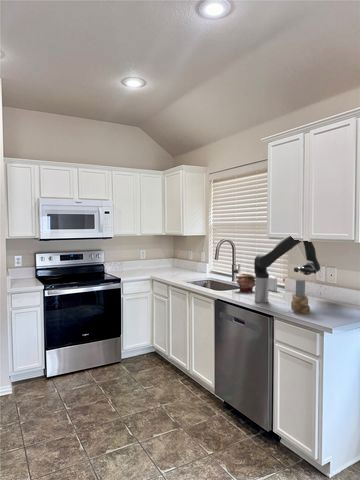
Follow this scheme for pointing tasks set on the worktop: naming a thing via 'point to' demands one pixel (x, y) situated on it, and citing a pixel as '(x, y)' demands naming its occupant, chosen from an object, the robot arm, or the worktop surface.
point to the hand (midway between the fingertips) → (303, 271)
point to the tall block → (300, 288)
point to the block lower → (300, 309)
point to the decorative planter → (246, 282)
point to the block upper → (299, 300)
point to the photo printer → (272, 283)
